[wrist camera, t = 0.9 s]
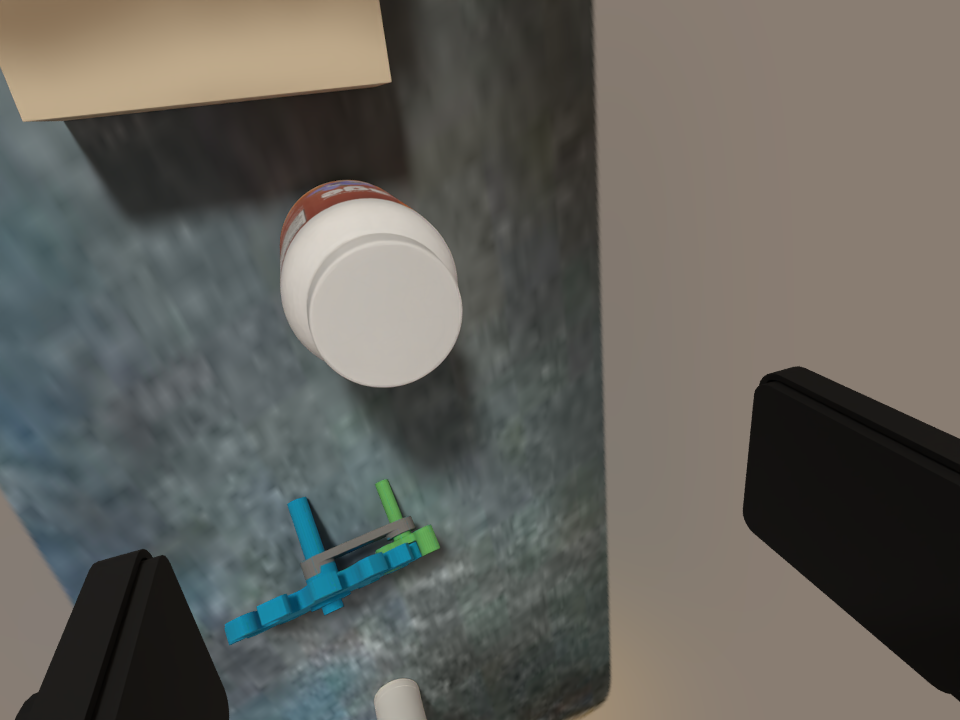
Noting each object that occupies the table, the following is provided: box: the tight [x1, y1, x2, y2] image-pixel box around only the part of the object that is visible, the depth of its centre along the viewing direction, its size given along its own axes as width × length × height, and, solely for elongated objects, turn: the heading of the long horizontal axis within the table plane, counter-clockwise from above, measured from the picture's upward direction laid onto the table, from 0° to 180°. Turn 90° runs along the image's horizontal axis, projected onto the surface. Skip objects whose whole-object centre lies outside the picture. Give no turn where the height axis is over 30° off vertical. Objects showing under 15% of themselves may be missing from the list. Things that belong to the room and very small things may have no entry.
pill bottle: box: [280, 180, 462, 387], centre depth 22 cm, size 6×6×11 cm
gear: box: [224, 479, 440, 645], centre depth 30 cm, size 11×6×10 cm
